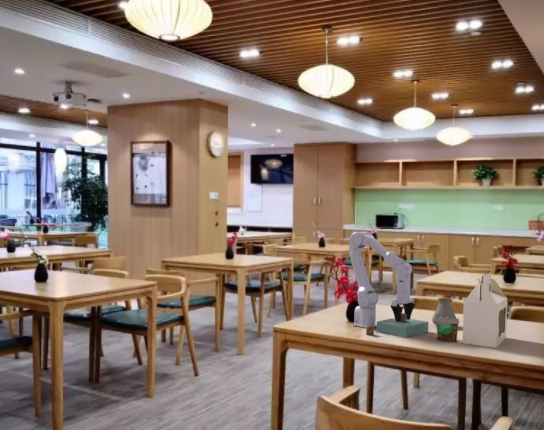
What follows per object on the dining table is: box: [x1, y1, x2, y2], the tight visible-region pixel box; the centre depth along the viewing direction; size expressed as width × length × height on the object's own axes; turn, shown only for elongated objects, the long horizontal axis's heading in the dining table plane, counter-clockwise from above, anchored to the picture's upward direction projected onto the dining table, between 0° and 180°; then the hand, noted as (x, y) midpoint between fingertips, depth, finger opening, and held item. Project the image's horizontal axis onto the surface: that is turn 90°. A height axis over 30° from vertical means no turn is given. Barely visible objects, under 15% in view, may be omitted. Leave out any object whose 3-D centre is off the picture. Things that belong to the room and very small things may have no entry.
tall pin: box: [400, 312, 407, 323], centre depth 256 cm, size 3×3×8 cm
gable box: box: [462, 272, 508, 349], centre depth 242 cm, size 22×13×28 cm, turn 148°
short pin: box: [365, 325, 375, 337], centre depth 249 cm, size 3×3×4 cm
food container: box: [435, 314, 460, 343], centre depth 241 cm, size 12×6×10 cm, turn 21°
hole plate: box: [376, 317, 429, 339], centre depth 256 cm, size 15×18×4 cm
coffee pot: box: [431, 290, 457, 327], centre depth 273 cm, size 21×12×15 cm, turn 149°
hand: (402, 320), depth 256 cm, fingers open, 7 cm apart
